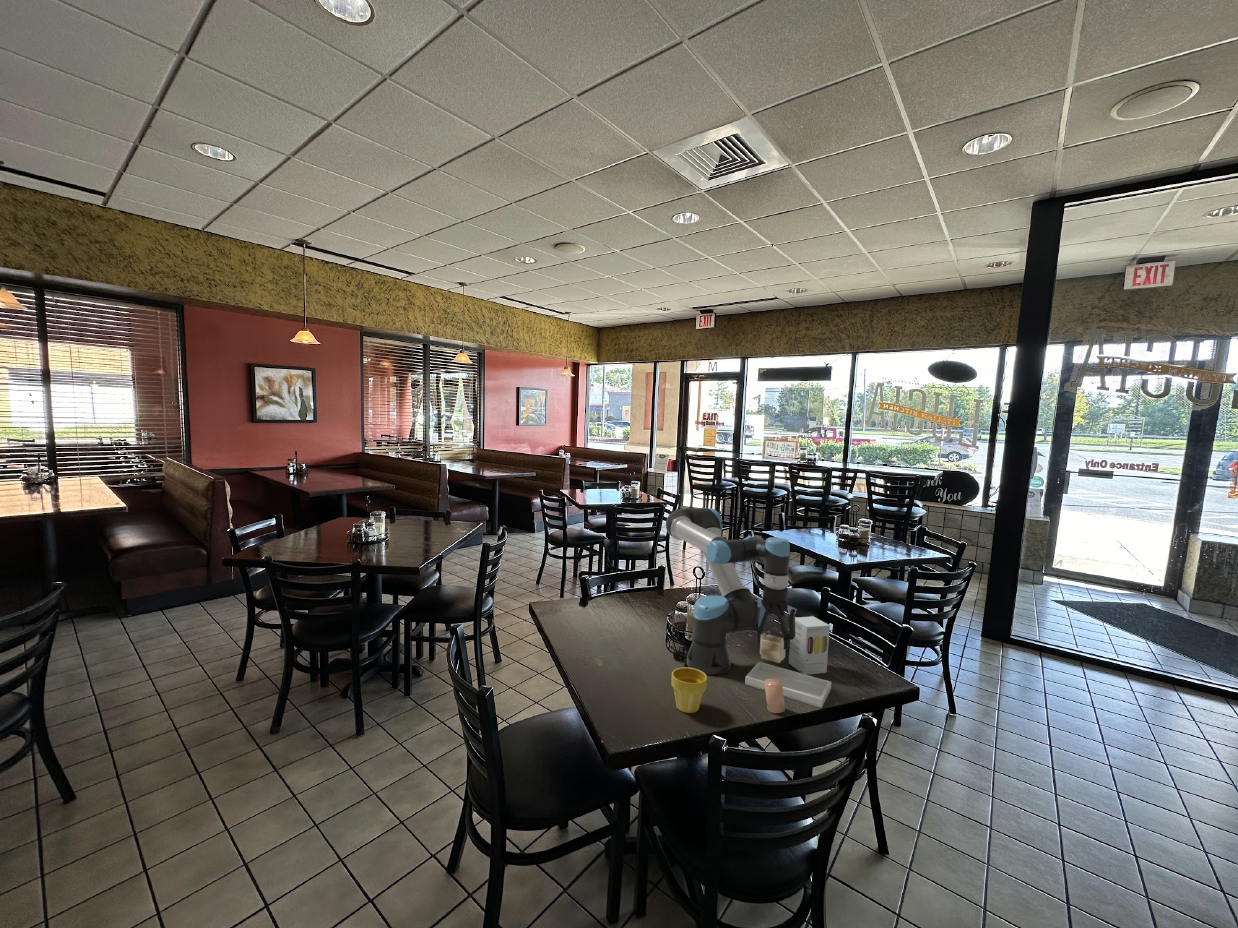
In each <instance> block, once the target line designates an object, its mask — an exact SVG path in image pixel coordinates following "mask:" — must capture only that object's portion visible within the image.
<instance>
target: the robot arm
mask: <svg viewBox="0 0 1238 928" xmlns="http://www.w3.org/2000/svg"><path fill="white" fill-rule="evenodd" d="M723 527H724V526H723V519H722V517H721V514H720V513H719V511H718V510H716V509H714V508H711V507H701V508H697V507H696V508H679V509H676V510H673V511H672V512H671V513H669V515H668V516H667V518H666V520H665V529H666V532H667V533H668V535H669V536H671V537H672V539H675V540H678V541H684V542H685V543H687V544H689V545H691V546H692V547H695V548H696V549H698V550H700V551H702V553H703V556H704V557H705V560H706V562H707V565H708V567H709V569H710V571H711V574H712V576H713V578H714V580H715V582H716V585H717V587H718V589H719V591H720V594H721V595H713V594H712V595H705V596H702V597H700V598H698V599H697V600H696V601H695V602H694V606H693V614H692V615H693V621H692V623H693V624H692V641H691V644H690V648H689V650H688V652H687V654H686V655H687V656H686V665H687V666H688V667H689V668H695V669H698V670H700V671H702V672H704V673H705V674H706V675H709V676H716V675H717V676H718V675H723V674H726V673H728V672H730V670H731V664H732V662H731V658H730V654H729V650H728V646H727V640H728V638H727V637H728V635H735V634H743V633H752V632H756V633H757V639H756V640H757V643H758V644H760V645H759V654H760V655H761V649H762V640H763V639H764V638H765V636H766V631H764V630H765V627H766V624H767V622H768V619H769V617H770V615H774V616H777V619H778V621H779V625H780V629H781V633H782V636H783V637H781V638H782V640H781V658H780V660H782V661H783V660H784V659H785V658H786V651H787V650H788V649H790V640H793V639H794V638H795V618H796V613H797V610H798V609H797V607H792V606H791V605H789V603H788V594H789V593H788V592H789V589H788V587H789V574H790V573H789V572H790V571H789V570H790V557H791V556H790V554H791V552H790V550H791V548H790V547H791V545H790V541H789V540H788V539H787V538H783V537H776V536H774V537H773V536H772V537H768V538H766V539H762V538H759V537H757V536H750V535H749V536H746V537H745V538H743V539H742V538H741V539H727V538H724V537H722V531H723ZM746 562H758V563H760V564H762V565H764V570H763V571H764V572H763V583H764V585H763V592H762V598H761V597H759V596H755V595H753V594H752V592H751V590H750V588H748V587H745V586H744V584H743V583H742V581H741V578H740V576H739V574H738V572H737V569H736V568H735V566H734V564H735V563H746ZM786 610H787V611H788V614H789V616H788V617H789V620H788V621H789V622H788V623H787V621H786V618H785V616H786V615H785V612H786ZM788 624H789V628H788V626H787V625H788Z"/></svg>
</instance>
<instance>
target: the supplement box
mask: <svg viewBox="0 0 1238 928" xmlns="http://www.w3.org/2000/svg"><path fill="white" fill-rule="evenodd" d="M829 641H830V625H829V624H827V622H824V621H822V620H821V619H819V618H817V617H815V616H813V615H810V616H801V617H800V616H799V617H795V638H794V639H793V640H789V652H788V664H789V665H790V666H792V667H793V668H794V669H795V670H797V671H798V673H802V674H805V675H809V676H810V675H817V674H826V673H827V672H828V656H829V655H828V653H829V644H830V643H829Z"/></svg>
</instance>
